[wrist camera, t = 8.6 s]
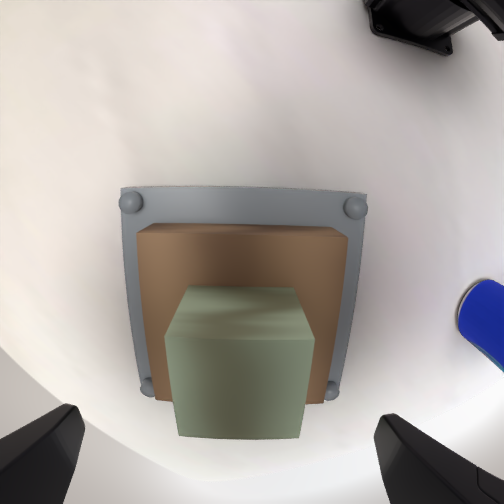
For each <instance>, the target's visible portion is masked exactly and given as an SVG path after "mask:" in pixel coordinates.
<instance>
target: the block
mask: <svg viewBox="0 0 504 504" xmlns="http://www.w3.org/2000/svg"><path fill="white" fill-rule="evenodd" d="M164 338H165V347H166V355H167V363H168V371H169V378H170V385H171V392H172V399H173V405H174V411H175V417H176V423H177V428H178V434H179V436H185V437H197V438H213V439H246V440H259V439H292V438H299V435H300V430H301V425H302V419H303V414H304V408H305V402H306V396H307V390H308V384H309V378H310V371H311V364H312V357H313V350H314V343H315V338H314V336H313V333H312V331H311V328H310V326H309V323H308V321H307V319H306V316H305V314H304V311H303V309H302V307H301V304H300V302H299V299H298V297H297V295H296V292H295V290H294V287H236V286H198V285H188V287H187V290H186V292H185V294H184V296H183V298H182V300H181V302H180V304H179V306H178V308H177V310H176V313H175V315H174V317H173V319H172V321H171V323H170V325H169V327H168V330H167V332H166V334H165V336H164Z"/></svg>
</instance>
